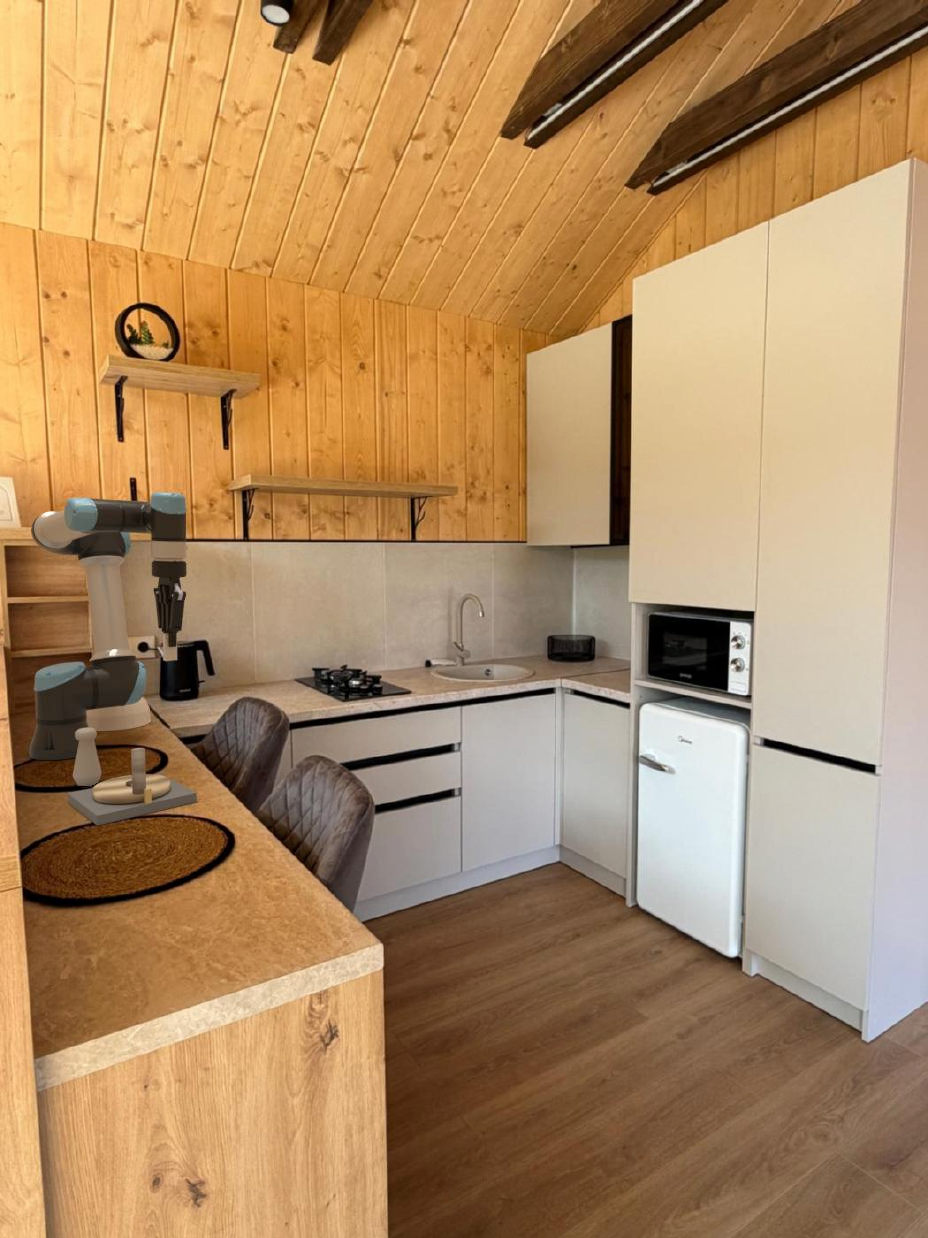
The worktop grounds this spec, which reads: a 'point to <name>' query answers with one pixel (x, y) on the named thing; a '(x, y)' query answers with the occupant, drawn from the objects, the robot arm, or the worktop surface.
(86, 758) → the salt shaker
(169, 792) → the stand base
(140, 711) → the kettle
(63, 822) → the worktop surface
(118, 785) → the dial
